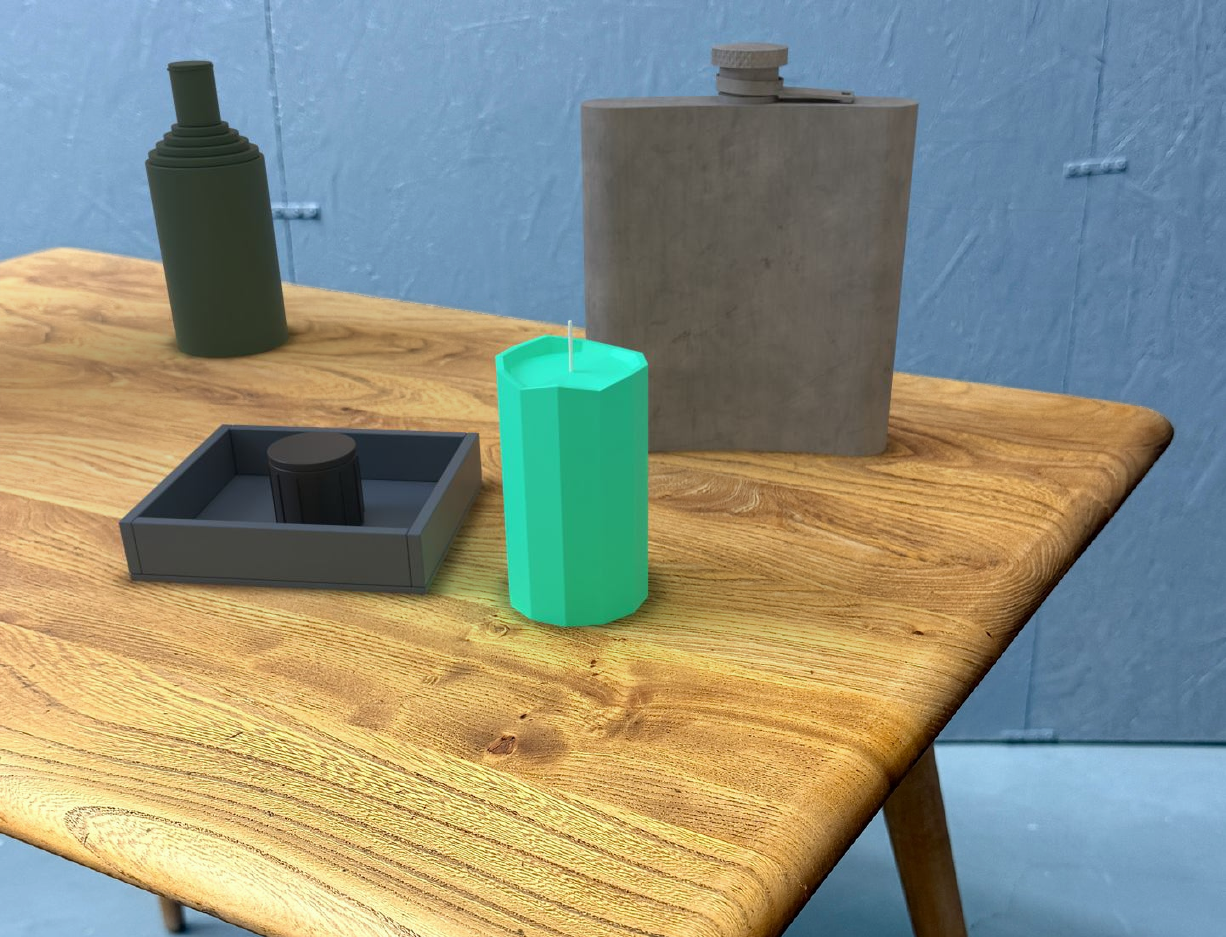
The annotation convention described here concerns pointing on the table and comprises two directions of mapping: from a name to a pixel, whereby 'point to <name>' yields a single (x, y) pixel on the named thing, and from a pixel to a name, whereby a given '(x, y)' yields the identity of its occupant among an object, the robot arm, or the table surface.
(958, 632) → the table surface
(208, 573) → the tray
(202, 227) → the flask
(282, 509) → the cap
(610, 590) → the candle
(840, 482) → the table surface
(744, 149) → the hip flask
